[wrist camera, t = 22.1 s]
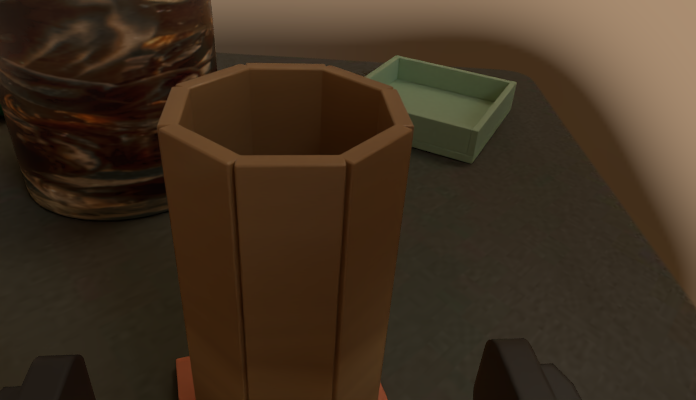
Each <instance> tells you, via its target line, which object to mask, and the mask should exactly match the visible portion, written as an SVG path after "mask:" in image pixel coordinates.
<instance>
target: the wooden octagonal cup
mask: <svg viewBox="0 0 696 400" xmlns="http://www.w3.org/2000/svg"><path fill="white" fill-rule="evenodd" d="M157 132H158V139H159V146H160V153H161V160H162V167H163V174H164V181H165V188H166V195H167V202H168V209H169V216H170V223H171V230H172V237H173V244H174V251H175V258H176V265H177V272H178V279H179V286H180V293H181V300H182V307H183V314H184V321H185V328H186V335H187V342H188V349H189V356H190V363H191V370H192V377H193V384H194V391H195V398H196V400H378V395H379V387H380V380H381V372H382V365H383V357H384V350H385V342H386V335H387V327H388V320H389V313H390V305H391V298H392V290H393V283H394V275H395V268H396V260H397V253H398V245H399V238H400V230H401V223H402V215H403V208H404V200H405V193H406V185H407V178H408V170H409V163H410V155H411V148H412V140H413V133H414V125H413V123H412V121H411V119H410V117H409V114H408V112H407V110H406V108H405V106H404V104H403V101H402V99H401V97H400V95H399V93H398V91H397V90H396V89H393V87H392V86H389V85H386V84H383V83H381V82H378V81H375V80H372V79H369V78H366V77H363V76H360V75H357V74H354V73H352V72H349V71H346V70H343V69H340V68H337V67H334V66H331V65H329V66H327V67H326V66H325V64H285V63H246V66H245V65H243V64H238V65H235V66H232V67H229V68H226V69H223V70H219V71H216V72H213V73H210V74H207V75H204V76H201V77H197V78H194V79H191V80H188V81H185V82H182V83H179V84H176V87H172V88H171V91H170V93H169V96H168V98H167V101H166V104H165V106H164V109H163V112H162V114H161V117H160V119H159V122H158V125H157Z"/></svg>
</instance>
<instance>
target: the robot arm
mask: <svg viewBox="0 0 696 400" xmlns="http://www.w3.org/2000/svg"><path fill="white" fill-rule="evenodd" d="M0 400H96V399H95V396H94V392H93V389H92V386H91V382H90V379H89V375H88V372H87V368H86V365H85V361H84V358H83V357H82V356H81V355H55V356H38V357H37V358H35V359H34V361H33V362H32V364H31V366H30V368H29V370H28V373H27V375H26V377H25V379H24V381H23V384H22V386H17V387H4V388H3V389H2V390H1V391H0ZM473 400H582V399H581V397H580V396H579V394H578V392H577V390H576V388H575V386H574V384H573V383H572V382H571V381H570V380H569V379H568V378H567V377H566V376H565V375H564V374H563V373H562V372H561V371H560V370H559V369H558V368H557V367H556V366H555V365H554V364H540V363H539V361H538V359H537V357H536V355H535V353H534V351H533V349H532V347H531V345H530V343H529V342H528V341H527V340H526V339H524V338H517V339H492V340H488V341H487V343H486V345H485V348H484V352H483V356H482V359H481V363H480V366H479V370H478V374H477V377H476V381H475V385H474V390H473Z"/></svg>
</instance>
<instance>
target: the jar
mask: <svg viewBox="0 0 696 400" xmlns="http://www.w3.org/2000/svg"><path fill="white" fill-rule="evenodd" d="M216 71H217V63H216V51H215V39H214V29H213V18H212V7H211V0H0V103H1V107H2V110H3V113H4V116H5V120H6V123H7V126H8V130H9V133H10V136H11V140H12V143H13V146H14V149H15V153H16V156H17V159H18V162H19V165H20V169H21V172H22V175H23V178H24V181H25V184H26V187H27V190H28V192H29V194H30V196H31V197H32V198H33V200H34V201H35V202H36V203H38V204H39V205H40V206H42V207H43V208H45V209H47V210H49V211H52V212H54V213H57V214H60V215H63V216H67V217H72V218H78V219H86V220H123V219H132V218H139V217H144V216H150V215H154V214H158V213H162V212H165V211H168V210H169V209H168V202H167V195H166V188H165V181H164V174H163V167H162V160H161V153H160V146H159V139H158V132H157V125H158V122H159V119H160V117H161V114H162V112H163V109H164V106H165V104H166V101H167V98H168V96H169V93H170V91H171V88H172V87H176V84H179V83H182V82H185V81H188V80H191V79H194V78H197V77H201V76H204V75H207V74H210V73H213V72H216Z"/></svg>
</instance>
